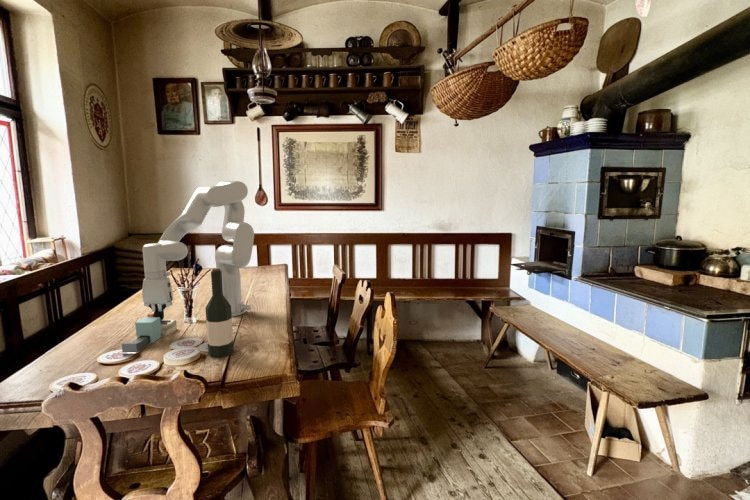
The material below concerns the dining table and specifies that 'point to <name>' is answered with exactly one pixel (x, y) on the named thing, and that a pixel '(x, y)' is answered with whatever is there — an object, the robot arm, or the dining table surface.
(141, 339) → the rail
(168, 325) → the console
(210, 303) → the wine bottle
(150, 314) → the orange clay brick
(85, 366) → the dining table surface
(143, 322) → the carriage
